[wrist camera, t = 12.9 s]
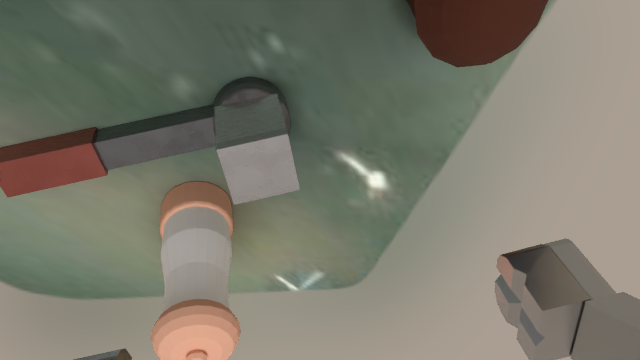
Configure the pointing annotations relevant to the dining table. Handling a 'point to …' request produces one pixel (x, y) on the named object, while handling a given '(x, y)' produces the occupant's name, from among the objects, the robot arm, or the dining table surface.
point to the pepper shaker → (196, 275)
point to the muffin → (474, 27)
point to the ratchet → (120, 143)
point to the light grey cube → (255, 149)
